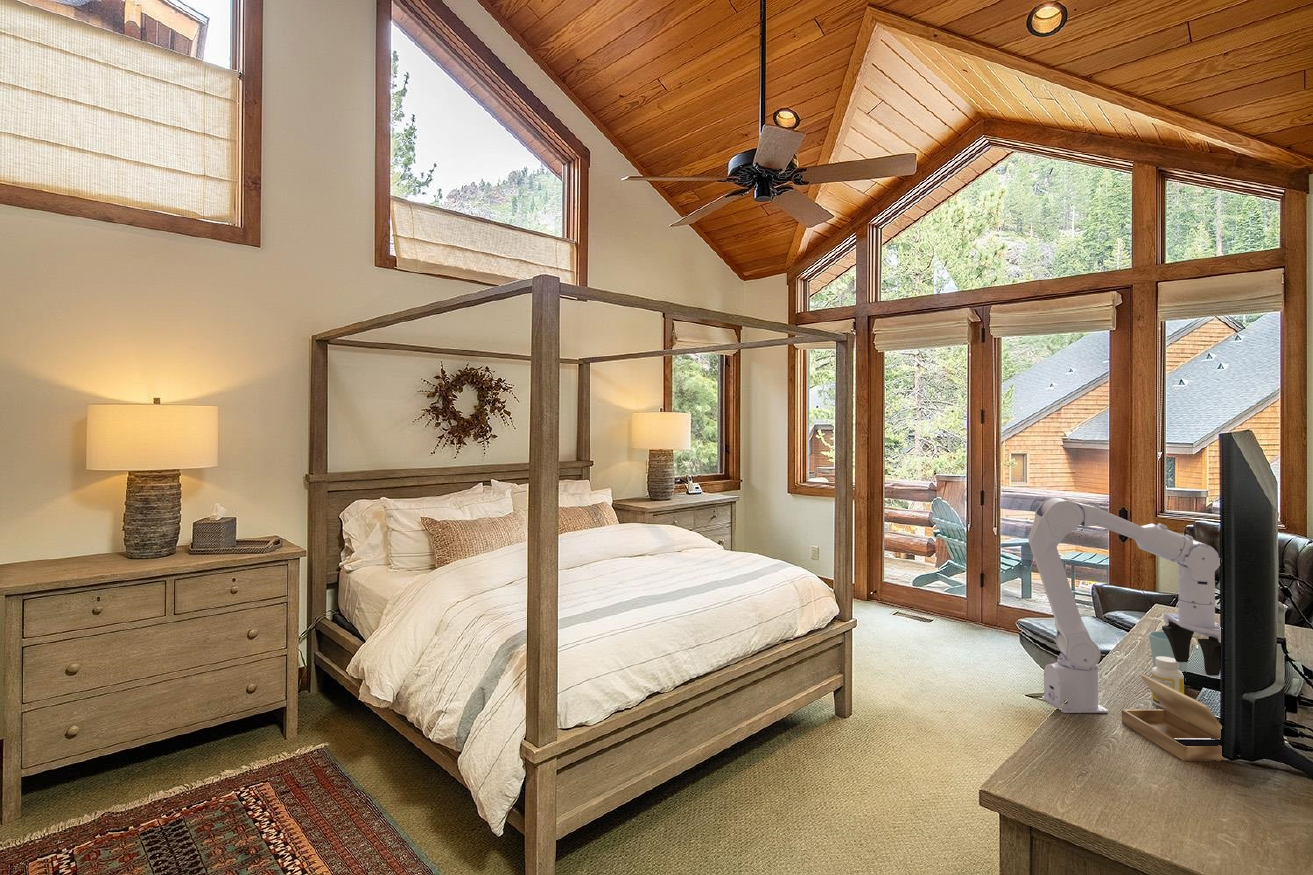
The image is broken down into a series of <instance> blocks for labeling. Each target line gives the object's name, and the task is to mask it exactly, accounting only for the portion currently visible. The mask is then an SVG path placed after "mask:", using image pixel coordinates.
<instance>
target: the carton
mask: <svg viewBox="0 0 1313 875" xmlns="http://www.w3.org/2000/svg"><path fill="white" fill-rule="evenodd" d="M1121 723H1123V725H1126V726H1127V727H1129V728H1130V729H1132V730H1134V731H1135V732H1137V733H1139V735H1142V736H1143V737H1145V738H1146V739H1148V740H1150V741H1151V742H1153V743H1155V744H1156V745H1157V746H1159V747H1161V748H1162V749H1164V750H1165V751H1166V752H1169V753H1170V754H1172V755H1173V756H1175V757H1176V758H1179V759H1180V760H1182V761H1183V762H1206V761H1205V760H1208V761H1207V762H1211V761H1210V760H1216V761H1215V762H1222V761H1221V760H1224V758H1223V756H1222V746H1221V745H1218V746H1185V745H1183V744H1181V743H1179V742H1178V741H1176V740H1174V738H1211V739H1215V740H1219V738H1217V737H1215V736H1213V735H1211V734H1209V733H1208V732H1206V731H1204V730H1202V729H1200V728H1198V727H1197V726H1195V725H1193V724H1191V723H1189V722H1187V721H1186V720H1184V719H1182V718H1180V717H1178V716H1176V715H1175V714H1173V713H1171V712H1169V711H1167V710H1165V709H1164V708H1163V709H1159V708H1157V709H1155V708H1153V709H1152V708H1151V709H1149V708H1148V709H1143V708H1142V709H1139V708H1138V709H1137V708H1136V709H1121Z"/></svg>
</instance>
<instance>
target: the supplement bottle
mask: <svg viewBox="0 0 1313 875" xmlns="http://www.w3.org/2000/svg"><path fill="white" fill-rule="evenodd" d="M1155 663H1156V665H1157V667H1154V666H1153V667H1152V668H1151V678H1152V679H1154V680H1156V681H1158V682H1160V683H1162V684H1164V685H1166V686H1168V687H1170V688H1172V689H1174V690H1176V691H1178V692H1180V693H1182V694H1184V695H1185V684H1184V675H1183V673H1182V672H1181V671H1179V670H1178V668H1179V662H1176V660H1175V659H1174V658H1171V657H1163V656H1158V657H1156V658H1155ZM1151 695H1152V696H1151V698H1152V703H1153V704H1154V705H1155V706H1158V707H1160V708H1163V706H1162V705H1161V704H1160V702H1159V701H1158V700H1157V698H1156V697H1155V695H1154V694H1153V693H1152V692H1151ZM1163 709H1164V708H1163Z"/></svg>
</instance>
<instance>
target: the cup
mask: <svg viewBox="0 0 1313 875" xmlns="http://www.w3.org/2000/svg"><path fill="white" fill-rule="evenodd" d="M1148 636H1149V643H1150V644H1149V645H1150V650H1151V658H1152V663H1153V668H1154V667H1157V665H1156V663H1155V658H1156V657H1158V656H1163V657H1171V658H1174V659H1175V657H1174V654H1173V651H1172V647H1171V645H1170V642H1169V640H1168V638H1167V636H1166V634H1165V633H1164V631H1163V630H1162V631H1161V630H1160V631H1159V630H1156V631H1150V632H1149V633H1148ZM1188 662H1189V661H1188ZM1188 662H1179V668H1178V670H1179V671H1181V672H1184V671H1186V672H1187V669H1188Z"/></svg>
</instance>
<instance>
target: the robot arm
mask: <svg viewBox="0 0 1313 875" xmlns="http://www.w3.org/2000/svg"><path fill="white" fill-rule="evenodd" d="M1080 526H1081V527H1084V528H1089V527H1095V526H1097V527H1101V528H1103V529H1106V530H1108V531H1111V532H1114V533H1117V534H1118V535H1122V536H1124V537H1127V538H1130V539H1133V540H1134V541H1135V543H1136V546H1137V547H1138V548H1139V550H1142V551H1145V552H1148V553H1150V554H1153V555H1155V556H1157V557H1160V558H1162V559H1165V560H1167V561H1169V562H1172V563H1176V564H1177V565H1178V613H1173V612H1171V613H1170V612H1167V613H1166V612H1164V613H1163V615H1164V616H1163V617H1164V618H1163V619H1164V620H1163V623H1165V624H1167V625H1162V626H1161V630H1162V632H1164V633H1165V634H1166V636H1167V638H1168V640H1169V642H1170V645H1171V647H1172V651H1173V654H1174V657H1175V660H1176V662H1189V659H1190V650H1191V648H1190V647H1191V642H1192V638H1193V636H1194V633H1197V634H1199V635H1201V636H1205V637H1207V638H1197V642H1198V644H1199V646H1200V649H1201V652H1202V657H1203V662H1204V663H1203V664H1204V665H1203V666H1204V672H1205V675H1207V676H1210V677H1211V676H1212V677H1213V676H1214V677H1218V676H1220V674H1221V671H1222V668H1221V628H1222V627H1221V626H1220V623H1218V622H1216V580H1215V579H1216V577H1215V575H1216V574H1215V572H1216V571H1217V569H1219V567H1220V566H1221V564H1220V559H1221V558H1220V555H1219V553H1218V552H1217V550H1216V549H1215V548H1214V547H1212V546H1211V545H1209V544H1207V543H1203V542H1200V541H1197V540H1196V539H1194V537H1193V536H1192V535H1189V534H1184V535H1182V534H1181V533H1178V532H1175V531H1172V530H1171V529H1170V530H1169V529H1168V526H1167V525H1165V524H1162V523H1157V524H1155V523H1147V524H1145V525H1139V524H1137V523H1135V522H1131V521H1129V520H1127V519H1125V518H1123V517H1120V516H1118V515H1115V514H1113V513H1110V512H1108V511H1106V510H1104V509H1101V508H1098V507H1096V506H1092V505H1089V504H1085V503H1081V502H1078V501H1073V500H1067V499H1064V498H1063V497H1060V496H1051V497H1048V498H1046V499H1045V500H1044V501H1042V503H1041V504H1040V505H1039V506H1038V507H1037V509H1035V512H1034V519H1033V523H1032V526H1031V529H1030V532H1029V536H1028V544H1029V547H1030V550H1031V553H1032V556H1033V559H1034V563H1035V565H1036V569H1037V570H1038V574H1039V578H1040V579H1041V582H1042V585H1043V588H1044V591H1045V594H1046V597H1047V600H1048V603H1049V606H1050V609H1051V612H1052V614H1053V618H1054V627H1055V629H1056V634H1055V635H1056V636H1055V644H1056V646H1057V648H1058V650H1059V651H1060V653H1059V655H1058V657H1057V661H1056V662H1053V663H1048V664H1046V665H1045V667H1044V669H1043V696H1041V699H1042V700H1044V701H1045V702H1047V703H1048V704H1049V705H1051V706H1053V707H1054V708H1056V709H1057V710H1058V708H1059V707H1060V706H1061V705H1062V704H1063V703H1064V702H1065V701H1066V700H1067V699H1068V701H1067V702H1066V703H1064V705H1063V706H1061V708H1062V710H1061V709H1060V710H1061V711H1060V710H1059V711H1060V712H1062V713H1064V714H1083V713H1084V714H1085V713H1086V714H1089V713H1090V714H1091V713H1092V714H1097V713H1099V714H1100V713H1103V714H1106V713H1107V714H1108V713H1109V710H1108V708H1105V707H1104V706H1103V705H1100V704H1099V671H1098V670H1099V668H1098V667H1099V666H1098V664H1099V662H1100V660H1101V656H1102V654H1101V649H1100V648H1099V646H1098V645H1097V644H1096V643H1095V642H1094V641H1093V639H1092V638H1091V636H1090V633H1089V631H1088V629H1087V627H1086V625H1085V623H1084V621H1083V620H1082V617H1081V615H1080V611H1079V608H1078V606H1077V602H1076V600H1075V597H1074V593H1073V590H1072V587H1071V585H1070V582H1069V578H1068V577H1067V573H1066V571H1065V568H1064V565H1063V562H1062V558H1061V557H1060V556H1061V555H1060V552H1059V551H1058V545H1059V544H1060V543H1061V542H1062V541H1063V539H1064V538H1065V536H1067V535H1068V534H1070V533H1072V532H1073V531H1074V530H1076V529H1077V528H1079V527H1080ZM1072 694H1073V695H1072ZM1069 696H1070V697H1069ZM1068 697H1069V698H1068Z"/></svg>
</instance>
